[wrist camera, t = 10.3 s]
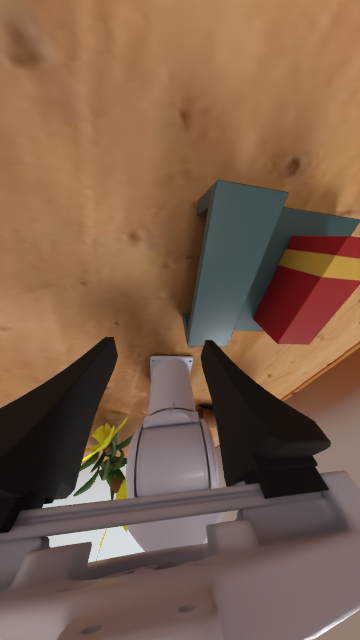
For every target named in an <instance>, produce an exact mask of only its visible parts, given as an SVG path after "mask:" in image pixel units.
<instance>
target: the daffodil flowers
mask: <svg viewBox="0 0 360 640" xmlns="http://www.w3.org/2000/svg"><path fill="white" fill-rule="evenodd" d="M128 416H129V415H128ZM128 416H127V418H128ZM127 418H126V419H125V420H124V421H123V422H122V423H121V424H120V426H119V427H118V428H117V429H116V430H115V431H114V426H113V427H112V429H110V427H109V425H108V424H107V423H106V424H105V427H104V426H102V425H101V426H100V427H99V428H97V430H95V432H93V434H92V436H93V437H94V438H95V439H96V440H97V441H98V442H99V443H98V444H96V445H94V446H92V447H90V448H86V449H85V451H93V452H92V453H91V454H89V455H88V456H86V457H85V458H84V459H82V461H85V460H87V459H88V458H89V457H90V456H92V455H93V454H94V453H95V454H94V455H93V456H92V457H91V458H90V459H88V460H87V461H86V462H85V463H84V464H83V465H82V466H81V467H80V470H79V471H81V470H83V469H85V468H87V467H88V466H90V465H91V464H93V463H94V462H95V461H96V460H97V459H98V457H99V451H101V450H103V453H102V455H101V457H100V458H99V460H98V461H97V463H96V464H95V465H94V467H93V469H92V470H91V472H93V471H94V470H95V469H96V468H97V467H98V470H97V471H96V473H95V474H94V476H93V477H92V478H91V479H90V480H89V481H88V482H87V483H86V484H85V485H84V486H82V487H81V488H80V489H79V490H78V491H77V492H76V493H75V494H74V495H73V496H77V495H79V494H81V493H83V492H85V491H86V490H88V489H89V488H90V487H91V486H92V484H93V483H94V482H95V480H96V477H97V476H98V473H99V475H100V477H101V480H107V482H108V484H109V486H110V490H111V500H113V498H114V493H117V494H116V499H115V500H118V499H127V489H126V479H125V477H124V475H123V473H122V472H121V470H120V469H119V468H121V467H123V466H125V464H127V458H124V452H123V451H122V450H121V449H122V448H124V447H126V446H127V445H129V444H130V443H131V440H132V437H133V435H134V434H133V435H132V436H131V437H129V438H128V439H126V440H125V441H124V442H122V443H120V444H118V445H116V444H117V432H118V431H119V430H120V429H121V427H122V426H123V425H124V424H125V422H126V420H127ZM113 432H114V433H113ZM114 436H115V437H114ZM113 437H114V440H113V443H112V444H111V443H110V442H111V440H112V439H113ZM117 450H119V451H120V452H121V456H120V457H116V456H115V455H116V451H117ZM111 453H112V454H111ZM105 456H107V457H109V459H107V460H105V461H104V462H102V461H103V459H104V457H105ZM100 466H101V467H102V470H100V471H99V469H100ZM123 527H124V529H125V531H127V529H128V525H125V526H123ZM106 530H107V529H106ZM106 530H105V532H106ZM104 536H105V534H104ZM104 536H103V538H102V541H103V539H104ZM102 541H101V544H100V548H101V545H102Z"/></svg>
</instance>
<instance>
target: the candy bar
mask: <svg viewBox="0 0 360 640" xmlns="http://www.w3.org/2000/svg"><path fill="white" fill-rule="evenodd" d="M359 285H360V238H358V237H351V236H292V238H291V240H290V242H289V244H288V246H287V248H286V250H285V252H284V254H283V256H282V258H281V260H280V262H279V264H278V267H277V270H276V272H275V274H274V276H273V278H272V280H271V282H270V284H269V287H268V289H267V291H266V293H265V295H264V297H263V299H262V301H261V303H260V306H259V308H258V310H257V312H256V314H255V316H254V318H253V320H254V321H255V322H256V323H257V324H258V325H259V326H260V327H261V328H262V329H263V330H264V331H265V332H266V333H267V334H268V335H269V336H270V337H271V338H272V339H273V340H274V341H275V342H276V343H277V344H306V345H309V344H310V343H311V342H312V340H313V339H314V338H315V337H316V336H317V334H318V333H319V332H320V331H321V330H322V329H323V327H324V326H325V325H326V324H327V323H328V321H329V320H330V319H331V318H332V317H333V316H334V314H335V313H336V312H337V311H338V310H339V308H340V307H341V306H342V305H343V304H344V302H345V301H346V300H347V299H348V298H349V297H350V295H351V294H352V293H353V292H354V291H355V289H356V288H357V287H358V286H359Z"/></svg>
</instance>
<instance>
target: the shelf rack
mask: <svg viewBox="0 0 360 640" xmlns="http://www.w3.org/2000/svg"><path fill="white" fill-rule="evenodd" d="M287 196H288V192H284V191H279V190H273V189H268V188H262V187H256V186H251V185H245V184H240V183H234V182H229V181H223V180H217V181H216V182H215V183H214V184H213V185H212V186H211V187H210V188H209V189H208V190H207V192H206V193H205V194H204V195H203V196H202V197H201V198H200V199H199V201H198V207H197V215H198V216H205V217H207V219H206V225H205V231H204V237H203V243H202V249H201V255H200V261H199V267H198V273H197V279H196V284H195V290H194V296H193V302H192V308H191V313H183V324H184V329H185V335H186V341H187V345H188V346H204V343H205V340H213V341H214V342H215V343H216V344H217V345H218V346H220V347H227V346H228V344H229V341H230V339H231V336H232V334H233V331H234V330H244V331H264V330H263V329H262V328H261V327H260V326H259V325H258V324H257V323H256V322H255V321H254V320H253V318H254V316H255V314H256V312H257V310H258V308H259V306H260V303H261V301H262V299H263V297H264V295H265V293H266V291H267V289H268V287H269V284H270V282H271V280H272V278H273V276H274V274H275V272H276V270H277V267H278V264H279V262H280V260H281V258H282V256H283V254H284V252H285V250H286V248H287V246H288V244H289V242H290V240H291V238H292V236H351V235H352V233H353V232H354V230H355V229H356V227H357V226H358V224H359V223H360V220H359V219H353V218H347V217H341V216H335V215H329V214H323V213H317V212H311V211H305V210H299V209H293V208H287V207H283V206H284V204H285V201H286V199H287Z"/></svg>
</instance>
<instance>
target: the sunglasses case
mask: <svg viewBox="0 0 360 640" xmlns="http://www.w3.org/2000/svg"><path fill="white" fill-rule="evenodd" d="M195 410H196V412H198V416H199V419H204V421H205V422H206V423H207V424H208V425H209V427H210V428H212V429H217V424H216V419H215V413H214V410H213V409H207V408H202V407H201V406H197V407H196V408H195Z"/></svg>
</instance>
